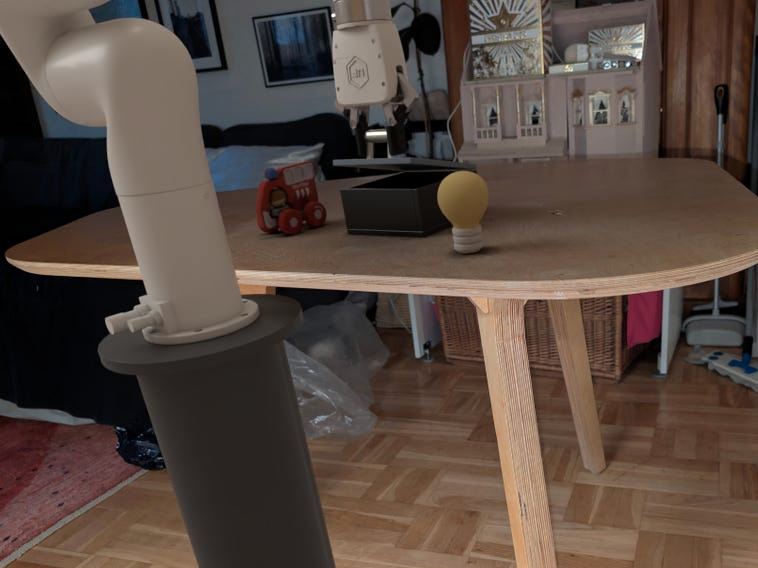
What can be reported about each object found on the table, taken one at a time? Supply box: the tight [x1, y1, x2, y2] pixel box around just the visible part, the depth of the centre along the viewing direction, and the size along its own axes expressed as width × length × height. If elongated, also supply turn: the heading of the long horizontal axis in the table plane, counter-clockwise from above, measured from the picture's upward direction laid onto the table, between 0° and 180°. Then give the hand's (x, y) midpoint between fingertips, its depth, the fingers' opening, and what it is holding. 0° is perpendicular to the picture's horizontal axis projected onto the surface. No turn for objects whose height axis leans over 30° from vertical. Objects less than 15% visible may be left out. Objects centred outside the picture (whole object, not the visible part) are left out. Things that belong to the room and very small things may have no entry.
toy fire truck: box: [255, 160, 328, 235], centre depth 114 cm, size 7×12×10 cm, turn 144°
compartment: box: [339, 169, 478, 238], centre depth 108 cm, size 16×15×7 cm
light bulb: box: [437, 171, 490, 254], centre depth 88 cm, size 6×6×10 cm
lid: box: [332, 128, 477, 172], centre depth 106 cm, size 16×15×5 cm
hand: (382, 153), depth 101 cm, fingers closed on lid, 5 cm apart
